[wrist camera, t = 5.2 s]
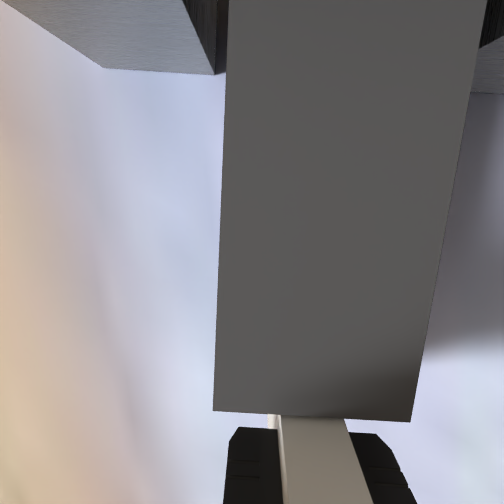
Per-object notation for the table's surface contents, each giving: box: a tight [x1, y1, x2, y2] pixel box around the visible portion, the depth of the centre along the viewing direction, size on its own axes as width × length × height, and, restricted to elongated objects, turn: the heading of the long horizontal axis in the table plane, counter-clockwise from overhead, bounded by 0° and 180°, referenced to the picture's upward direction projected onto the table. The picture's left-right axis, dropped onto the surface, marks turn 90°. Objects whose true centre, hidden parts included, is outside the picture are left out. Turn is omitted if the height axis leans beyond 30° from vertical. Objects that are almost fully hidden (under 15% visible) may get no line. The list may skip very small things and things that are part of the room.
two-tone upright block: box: [213, 0, 487, 422], centre depth 9 cm, size 16×4×6 cm, turn 177°
